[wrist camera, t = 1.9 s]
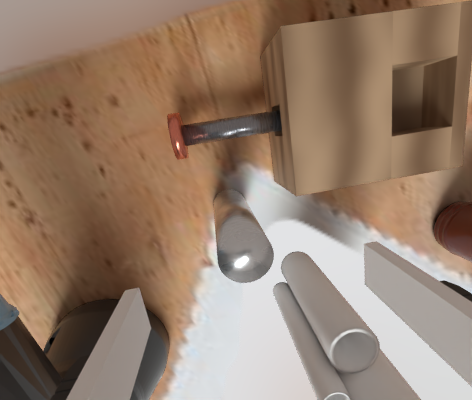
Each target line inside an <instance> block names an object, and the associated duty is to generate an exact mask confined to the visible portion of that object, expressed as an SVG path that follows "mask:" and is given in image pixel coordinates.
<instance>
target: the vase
mask: <svg viewBox="0 0 472 400" xmlns="http://www.w3.org/2000/svg"><path fill="white" fill-rule="evenodd" d="M281 269H282V273H283V275H284V277H285V279H286V281H287V283H288V284H289V285H288V284H287V283H284V282H281V283H278V284H276V285H275V286H274V288H273V294H274V296H275V299H276V301H277V304H278V306H279V308H280V311H281V313H282V316H283V318H284V321H285V323H286V325H287V328H288V330H289V333H290V335H291V337H292V339H293V342H294V345H295V347H296V350H297V352H298V354H299V357H300V359H301V361H302V364H303V366H304V369H305V371H306V374H307V376H308V379H309V381H310V383H311V386H312V388H313V391H314V393H315V395H316V398H317V400H421V399H420V398H419V397H418V395H417V394H416V393H415V392H414V390H412V388H411V387H410V386H409V384H408V383H407V382H406V381H405V379H404V378H403V377H402V376H401V374H400V373H399V372H398V370H397V369H396V368H395V367H394V366H393V364H392V363H391V362H390V361H389V359H388V358H387V357H386V356H385V354H384V353H383V352H382V351H381V350H380V347H379V341H378V339H377V336H376V335H375V334H374V333H373V332H372V330H371V329H370V328H369V327H368V326H367V325H366V323H365V322H364V321H363V320H362V319H361V317H360V316H359V315H358V314H357V313H356V312H355V310H354V309H353V308H352V307H351V305H350V304H349V303H348V302H347V301H346V299H345V298H344V297H343V296H342V295H341V294H340V292H339V291H338V290H337V289H336V288H335V286H334V285H333V284H332V283H331V282H330V281H329V279H328V278H327V277H326V276H325V275H324V273H323V272H322V271H321V270H320V268H319V267H318V266H317V265H316V264H315V263H314V261H313V260H312V259H311V258H310V257H309V256H308V255H307V254H305V253H303V252H292V253H290V254H288V255H287V256H286V257H285V258H284V260H283V261H282V266H281Z"/></svg>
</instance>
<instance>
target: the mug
mask: <svg viewBox="0 0 472 400" xmlns="http://www.w3.org/2000/svg"><path fill="white" fill-rule="evenodd" d="M434 235H435V239H436V241H437V242H438V243H439V244H440V245H441V246H443V247H444V248H445V249H446V250H448V251H450V252H451V253H452V254H454V255H457V256H460V257H462V258H464V259H466V260H468V261H470V262H472V202H457V203H454V204H451V205H450V206H448V207H447V208H446V209H444V210H443V211H442V212H441V214H440V215H439V216H438V218H437V220H436V222H435V226H434Z"/></svg>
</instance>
